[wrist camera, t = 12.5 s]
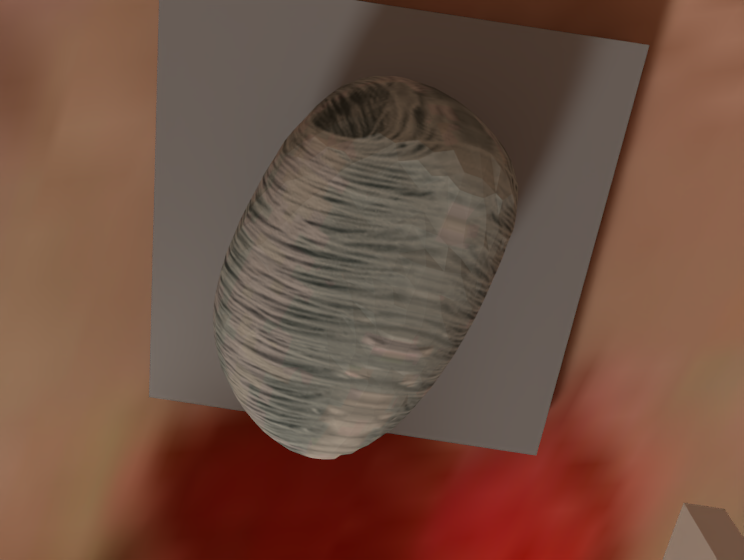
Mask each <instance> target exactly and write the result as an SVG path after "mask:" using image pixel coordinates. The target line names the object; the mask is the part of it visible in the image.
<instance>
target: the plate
mask: <svg viewBox="0 0 744 560" xmlns="http://www.w3.org/2000/svg"><path fill="white" fill-rule="evenodd" d="M648 49H649V45H645V44H639V43H632V42H626V41H619V40H613V39H606V38H599V37H593V36H586V35H580V34H573V33H567V32H560V31H554V30H547V29H541V28H534V27H527V26H521V25H514V24H508V23H501V22H495V21H488V20H482V19H475V18H469V17H462V16H455V15H449V14H442V13H436V12H429V11H423V10H416V9H410V8H403V7H397V6H390V5H384V4H377V3H370V2H364V1H357V0H159V27H158V67H157V106H156V146H155V186H154V225H153V265H152V305H151V344H150V384H149V397H153V398H159V399H166V400H173V401H179V402H186V403H193V404H199V405H206V406H212V407H219V408H226V409H232V410H239V411H245V409H244V408H243V407H242V406H241V404H240V402H239V401H238V399H237V398H236V396H235V394H234V392H233V390H232V388H231V386H230V384H229V382H228V380H227V378H226V376H225V374H224V372H223V370H222V368H221V365H220V361H219V357H218V354H217V350H216V345H215V338H214V331H213V308H214V299H215V293H216V289H217V285H218V281H219V277H220V273H221V269H222V266H223V262H224V259H225V255H226V252H227V250H228V247H229V245H230V243H231V241H232V238H233V236H234V233H235V231H236V229H237V226H238V224H239V221H240V219H241V217H242V215H243V213H244V211H245V209H246V207H247V205H248V203H249V202H250V200H251V198H252V196H253V194H254V192H255V190H256V188H257V187H258V185H259V183H260V181H261V179H262V177H263V175H264V174H265V172H266V170H267V169H268V167H269V166H270V164H271V162H272V161H273V159H274V158H275V156H276V154H277V153H278V151H279V149H280V148H281V146H282V144H283V143H284V141H285V140H286V139H287V137H288V136H289V135H290V134H291V133H292V131H293V130H294V129H295V128H296V127H297V126H298V125H299V124H300V123H301V122H302V121H303V120H304V119H305V118H306V117H307V115H308V114H309V113H310V112H311V111H312V110H313V109H314V108H315V107H316V106H317V105H318V104H319V103H320V102H322V101H323V100H324V99H325V98H326V97H328V96H329V95H330V94H331V93H333V92H334V91H335V90H337V89H338V88H340V87H342V86H343V85H345V84H348V83H351V82H353V81H356V80H359V79H361V78H366V77H372V76H397V77H402V78H407V79H411V80H414V81H417V82H419V83H422V84H425V85H428V86H431V87H434V88H436V89H438V90H440V91H442V92H443V93H445V94H447V95H449V96H450V97H452V98H454V99H456V100H457V101H459V102H460V103H462V104H463V105H464V106H466V107H467V108H468V109H469V110H470V111H472V112H473V113H474V114H475V115H476V116H477V117H479V118H480V119H481V120H482V121H483V123H484V124H485V125H486V126H487V127H488V128H489V129H490V130H491V131H492V132H493V134H494V135H495V136H496V137H497V138H498V140H499V141H500V142H501V144H502V145H503V146H504V148H505V150H506V152H507V154H508V156H509V158H510V159H511V162H512V165H513V168H514V172H515V175H516V179H517V183H518V201H517V211H516V219H515V225H514V230H513V232H512V234H511V236H510V239H509V241H508V243H507V246H506V249H505V252H504V255H503V258H502V260H501V262H500V265H499V267H498V269H497V272H496V274H495V276H494V279H493V281H492V283H491V285H490V288H489V290H488V292H487V294H486V297H485V299H484V301H483V303H482V305H481V307H480V309H479V311H478V313H477V315H476V317H475V319H474V321H473V323H472V325H471V327H470V328H469V330H468V332H467V334H466V335H465V337H464V339H463V341H462V342H461V344H460V346H459V348H458V349H457V351H456V353H455V354H454V356H453V357H452V359H451V360H450V362H449V363H448V365H447V366H446V367H445V369H444V370H443V372H442V373H441V375H440V376H439V377H438V379H437V380H436V382H435V383H434V384H433V386H432V387H431V389H430V390H429V391H428V392H427V393H426V394H425V396H424V397H423V398H422V399H421V400H420V401H419V402H418V404H417V405H416V406H415V407H414V408H413V409H412V410H411V412H410V413H409V414H408V415H407V416H406V417H405V418H404V419H403V420H402V421H401V422H400V423H398V424H397V425H396V426H395V427H394V428H393V429H392V430H390V431H388V432H387V433H391V434H398V435H405V436H411V437H418V438H424V439H431V440H438V441H444V442H451V443H458V444H464V445H471V446H477V447H484V448H491V449H497V450H504V451H511V452H517V453H524V454H530V455H536V454H537V451H538V447H539V443H540V440H541V436H542V433H543V429H544V425H545V422H546V418H547V414H548V411H549V407H550V404H551V400H552V396H553V393H554V389H555V386H556V382H557V378H558V375H559V371H560V367H561V364H562V360H563V357H564V353H565V349H566V346H567V342H568V338H569V335H570V331H571V328H572V324H573V320H574V317H575V313H576V309H577V306H578V302H579V299H580V295H581V291H582V288H583V284H584V280H585V277H586V273H587V270H588V266H589V262H590V259H591V255H592V251H593V248H594V244H595V241H596V237H597V233H598V230H599V226H600V222H601V219H602V215H603V212H604V208H605V204H606V201H607V197H608V193H609V190H610V186H611V183H612V179H613V175H614V172H615V168H616V164H617V161H618V157H619V154H620V150H621V146H622V143H623V139H624V136H625V132H626V128H627V125H628V121H629V117H630V114H631V110H632V107H633V103H634V99H635V96H636V92H637V88H638V85H639V81H640V78H641V74H642V70H643V67H644V63H645V59H646V56H647V52H648Z"/></svg>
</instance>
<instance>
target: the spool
mask: <svg viewBox="0 0 744 560" xmlns="http://www.w3.org/2000/svg"><path fill="white" fill-rule="evenodd" d="M517 201H518V183H517V179H516V175H515V172H514V168H513V165H512V162H511V159H510V158H509V156H508V154H507V152H506V150H505V148H504V146H503V145H502V144H501V142H500V141H499V140H498V138H497V137H496V136H495V135H494V134H493V132H492V131H491V130H490V129H489V128H488V127H487V126H486V125H485V124H484V123H483V121H482V120H481V119H480V118H479V117H477V116H476V115H475V114H474V113H473V112H472V111H470V110H469V109H468V108H467V107H466V106H464V105H463V104H462V103H460V102H459V101H457V100H456V99H454V98H452V97H450V96H449V95H447V94H445V93H443V92H442V91H440V90H438V89H436V88H434V87H431V86H428V85H425V84H422V83H419V82H417V81H414V80H411V79H407V78H402V77H397V76H372V77H366V78H361V79H359V80H356V81H353V82H351V83H348V84H345V85H343V86H342V87H340V88H338V89H337V90H335V91H334V92H333V93H331V94H330V95H329V96H328V97H326V98H325V99H324V100H323V101H322V102H320V103H319V104H318V105H317V106H316V107H315V108H314V109H313V110H312V111H311V112H310V113H309V114H308V115H307V117H306V118H305V119H304V120H303V121H302V122H301V123H300V124H299V125H298V126H297V127H296V128H295V129H294V130H293V131H292V133H291V134H290V135H289V136H288V137H287V139H286V140H285V141H284V143H283V144H282V146H281V148H280V149H279V151H278V153H277V154H276V156H275V158H274V159H273V161H272V162H271V164H270V166H269V167H268V169H267V170H266V172H265V174H264V175H263V177H262V179H261V181H260V183H259V185H258V187H257V188H256V190H255V192H254V194H253V196H252V198H251V200H250V202H249V203H248V205H247V207H246V209H245V211H244V213H243V215H242V217H241V219H240V221H239V224H238V226H237V229H236V231H235V233H234V236H233V238H232V241H231V243H230V245H229V247H228V250H227V252H226V255H225V259H224V262H223V266H222V269H221V273H220V277H219V281H218V285H217V289H216V293H215V299H214V308H213V331H214V338H215V345H216V350H217V354H218V357H219V361H220V365H221V368H222V370H223V372H224V374H225V376H226V378H227V380H228V382H229V384H230V386H231V388H232V390H233V392H234V394H235V396H236V398H237V399H238V401H239V402H240V404H241V406H242V407H243V408H244V409H245V411H246V412H247V413H248V415H249V416H250V417H251V418H252V420H253V421H254V422H255V423H256V424H257V425H258V426H259V427H260V428H261V429H262V430H263V431H264V432H265V433H266V434H267V435H269V436H270V437H271V438H272V439H274V440H275V441H277V442H278V443H279V444H281V445H282V446H284V447H286V448H287V449H289V450H290V451H293V452H296V453H298V454H301V455H304V456H307V457H310V458H316V459H335V458H337V457H338V456H340V455H345V454H352V453H354V452H355V451H357V450H358V449H360V448H362V447H365V446H367V445H369V444H370V443H372V442H373V441H375V440H376V439H378V438H379V437H381V436H382V435H384V434H385V433H387V432H388V431H390V430H392V429H393V428H394V427H395V426H396V425H397V424H398V423H400V422H401V421H402V420H403V419H404V418H405V417H406V416H407V415H408V414H409V413H410V412H411V410H412V409H413V408H414V407H415V406H416V405H417V404H418V402H419V401H420V400H421V399H422V398H423V397H424V396H425V394H426V393H427V392H428V391H429V390H430V389H431V387H432V386H433V384H434V383H435V382H436V380H437V379H438V377H439V376H440V375H441V373H442V372H443V370H444V369H445V367H446V366H447V365H448V363H449V362H450V360H451V359H452V357H453V356H454V354H455V353H456V351H457V349H458V348H459V346H460V344H461V342H462V341H463V339H464V337H465V335H466V334H467V332H468V330H469V328H470V327H471V325H472V323H473V321H474V319H475V317H476V315H477V313H478V311H479V309H480V307H481V305H482V303H483V301H484V299H485V297H486V294H487V292H488V290H489V288H490V285H491V283H492V281H493V279H494V276H495V274H496V272H497V269H498V267H499V265H500V262H501V260H502V258H503V255H504V252H505V249H506V246H507V243H508V241H509V239H510V236H511V234H512V232H513V230H514V225H515V219H516V211H517Z"/></svg>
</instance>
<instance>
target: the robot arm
mask: <svg viewBox="0 0 744 560" xmlns="http://www.w3.org/2000/svg"><path fill="white" fill-rule="evenodd" d="M663 560H744V538H743V536H742V535H741V533H740V532H739V530H738V529H737V527H736V526H735V524H734V523H733V521H732V520H731V518H730V517H729V515H728V514H727V512H726V511H725V509H721V508H714V507H708V506H701V505H695V504H688V503H683V506H682V509H681V512H680V514H679V517H678V520H677V522H676V525H675V528H674V530H673V533H672V536H671V539H670V541H669V544H668V547H667V549H666V552H665V555H664V557H663Z"/></svg>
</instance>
